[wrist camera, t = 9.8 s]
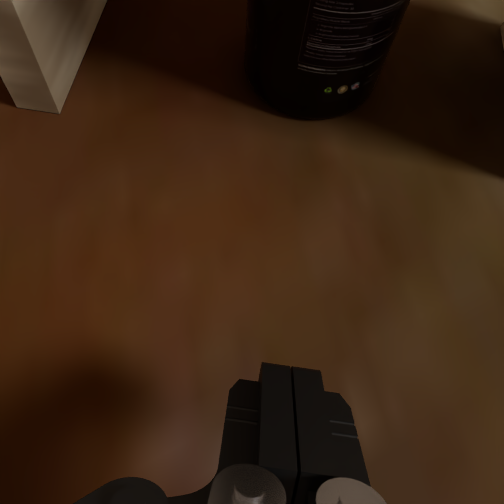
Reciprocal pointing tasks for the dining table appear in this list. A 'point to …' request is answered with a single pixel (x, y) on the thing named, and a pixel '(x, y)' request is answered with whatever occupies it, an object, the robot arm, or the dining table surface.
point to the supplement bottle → (318, 52)
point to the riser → (47, 48)
